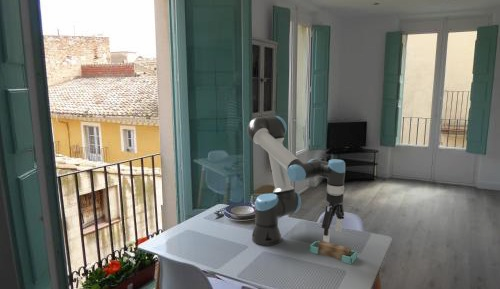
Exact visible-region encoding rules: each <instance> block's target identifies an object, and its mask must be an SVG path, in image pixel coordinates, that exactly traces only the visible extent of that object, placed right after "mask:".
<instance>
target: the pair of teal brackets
mask: <svg viewBox="0 0 500 289" xmlns="http://www.w3.org/2000/svg"><path fill="white" fill-rule="evenodd" d="M320 241H321V240H315V241H314V242H312V243H311V244H310V245H309V247H308V248H309V249H308V252H309V253H312V254H315V255H318V254H319V253H318V242H320ZM357 259H358V251H355V250H352V249H351V257H348V256H345V255H342V259H341V263H345V264H348V265H352V264H353V263H354V262H355V260H357Z"/></svg>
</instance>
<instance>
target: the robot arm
mask: <svg viewBox="0 0 500 289" xmlns="http://www.w3.org/2000/svg"><path fill="white" fill-rule="evenodd" d="M287 128H288V126H287V123H286V121H285V120H284V118H282V117H280V116H279V115H271V116H270V115H268V116H258V117H254V118H252V119H251V120H250V121H249V123H248V124H247V128H246V130H247V131H246V132H247V136H248V138H249V139H250V140H251V141H252V142H253V143H254V144H255V145H259V146H260V147H261V148H262V149H263V150H264V151H266V152H267V153H268V154H267V155H268V158H269V163H270V168H271V173H272V180H273V186H274V189H273V191H272V193H262V194H260V195H257V197H256V199H255V204H254V208H255V211H254V212H255V215H254V216H255V226H254V228H253V232H252V233H251V234H252V235H251V240H252V242H253V243H254V244H256V245H259V246H275V245H277V244H279V243H280V242H281V241H282V235H281V231H280V228H279V218H283V217H285V216H289V215H293V214H295V213H297V212H298V211H299V210H300V208H301V207H302V198H301V195H300V194H299V192H298V191H295V187H293V186H292V184H291V181H292V182H294V183H295V182H302V181H305V180H309V179H314V178H315V179H316V178H318V177H320V178H323V179H327V183H326V184H327V186H326V199H325V200H326V201H327V203H329V205H328V206H325V210H324V211H325V212H324V215H323V220H322V224H321V228H322V229H323V235H322V236H323V237H322V238H323V239H322V241H324V242H328V243H330V236H331V228H330V227H331V224H332V220H333V217H334V216H335V215H336V218H335V227H334V228H335V229H334V231H335V232H338V233H342V224H343V222H342V220H344V219H345V212H344V203H343V202H344V190H345V176H346V162H345V161H344V160H343V159H337V158H332V159H329V160H328V161H324V160H321V159H319V158H311V159H310V160H308V161H307V162H303V161H302V160H300V159H299V158H298V157H297V156H296V155H294V154H293V153H292V152H291V151H289V149H288V148H287V147H285V146H284V144H283V143H284V139H285V135H286V133H287V131H288V129H287Z"/></svg>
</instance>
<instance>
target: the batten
mask: <svg viewBox="0 0 500 289" xmlns="http://www.w3.org/2000/svg"><path fill="white" fill-rule="evenodd" d="M319 241H320V242H318V247H317V248H318V254H320V255H325V256H329V257H332V258H335V259H338V260H342V255H345V256H348V257H351V250H352V248H351V247H347V246H343V245H340V244H335V243H332V242H329V243H328V242H325V241H323V240H319Z"/></svg>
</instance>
